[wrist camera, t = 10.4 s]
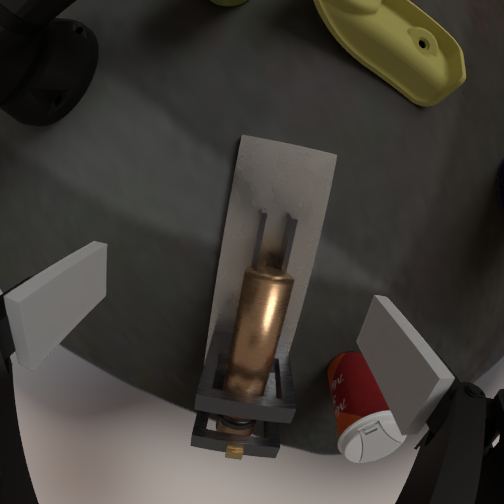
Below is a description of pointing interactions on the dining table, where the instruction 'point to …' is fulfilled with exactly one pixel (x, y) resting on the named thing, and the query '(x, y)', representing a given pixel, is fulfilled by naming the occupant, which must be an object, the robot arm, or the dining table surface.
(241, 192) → the rail
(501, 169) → the storage jar
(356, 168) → the dining table surface
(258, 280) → the copper tube
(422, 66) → the plastic component
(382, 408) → the paper cup
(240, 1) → the plant pot
